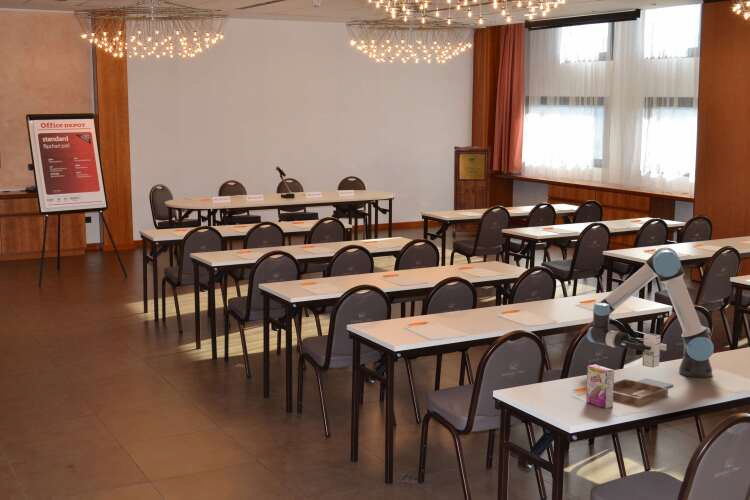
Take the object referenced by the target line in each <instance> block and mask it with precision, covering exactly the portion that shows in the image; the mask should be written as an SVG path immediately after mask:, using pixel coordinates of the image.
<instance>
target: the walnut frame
mask: <svg viewBox="0 0 750 500" xmlns="http://www.w3.org/2000/svg"><path fill="white" fill-rule="evenodd" d="M637 381H638V380H637ZM637 381H636V380H631V379H629V378H628V379H627V378H624V379H621V380H618V381H615V382H614V387H613V401H618V402H621V403H626V404H630V405H634V406H637V407H640V406H643V405H645V404H648V403H651V402H652V403H653V402H654V401H657V400H659V399H662V398H666V397H668V396H669V388H663V387H658V386H654V385H650V384H645V383H641V382H637ZM625 388H629V389H633V390H637V391H640V390H647V391H651V392H652V393H649V394H646V395H643V396H640V397H635V396H632V394H631V395H630V394H627V393H622V392H618V391H619V390H622V389H625ZM615 390H616V391H615Z"/></svg>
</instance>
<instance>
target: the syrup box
mask: <svg viewBox="0 0 750 500" xmlns="http://www.w3.org/2000/svg"><path fill="white" fill-rule="evenodd" d="M643 339H644V346H645V344H648V345H653V346H657V347H659V348H658V353H656V352H651V351H646V350H645V349H644V352H642V365H641V366H643V367H649V368H657V367H659V366H660V351H661V350H660V343H661V335H660V334H656V333H645V334H644V335H643Z"/></svg>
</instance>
